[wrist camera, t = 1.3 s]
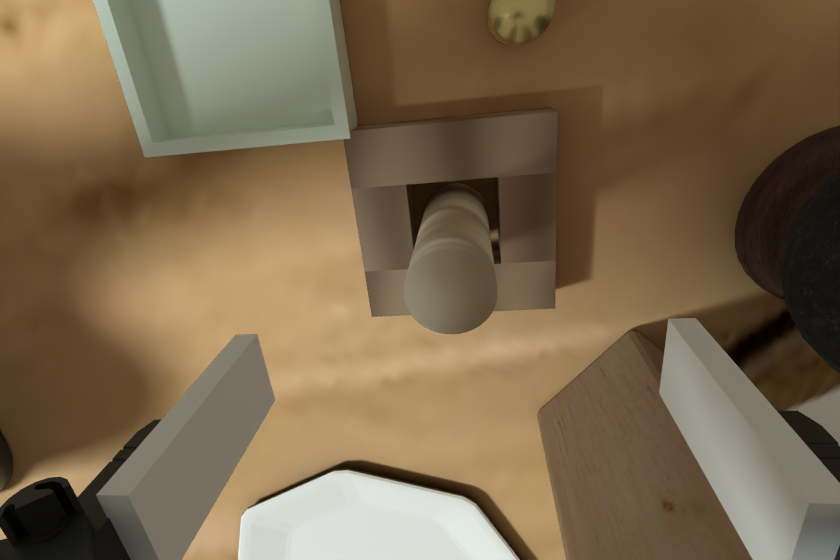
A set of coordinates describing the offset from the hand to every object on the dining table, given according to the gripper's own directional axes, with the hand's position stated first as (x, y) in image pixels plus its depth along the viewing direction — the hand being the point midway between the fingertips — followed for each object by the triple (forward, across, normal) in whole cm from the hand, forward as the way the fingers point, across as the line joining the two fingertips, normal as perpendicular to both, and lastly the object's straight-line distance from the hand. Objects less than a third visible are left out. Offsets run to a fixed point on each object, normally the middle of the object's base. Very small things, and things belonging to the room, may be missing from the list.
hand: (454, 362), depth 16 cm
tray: (+17, -12, +12) cm, 24 cm away
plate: (+18, -10, -36) cm, 42 cm away
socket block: (+17, 0, 0) cm, 17 cm away
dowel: (+17, 0, 0) cm, 17 cm away
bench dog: (+17, +4, +11) cm, 21 cm away
